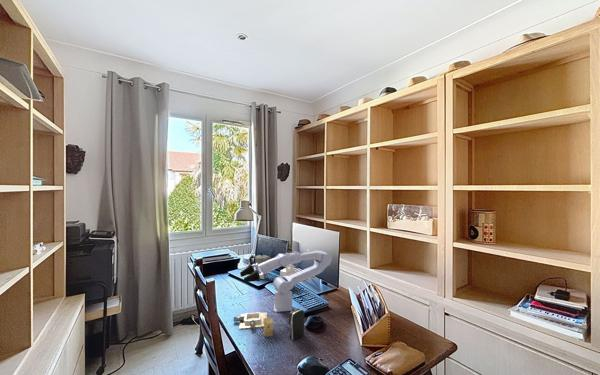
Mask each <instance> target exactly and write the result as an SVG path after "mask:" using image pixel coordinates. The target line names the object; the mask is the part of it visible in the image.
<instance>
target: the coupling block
mask: <svg viewBox="0 0 600 375" xmlns="http://www.w3.org/2000/svg"><path fill="white" fill-rule="evenodd" d="M273 336H274V318H273V317H267V318H264V327H263V337H273Z"/></svg>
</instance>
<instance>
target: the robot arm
mask: <svg viewBox="0 0 600 375" xmlns="http://www.w3.org/2000/svg"><path fill="white" fill-rule="evenodd" d="M304 260H314V261H313V265H311V266H310V267H306V268H304V269H301V270H300V271H298V272H295V273H293V274H292V275H290V276H283V277H280V276H277V277H275V278H274V279H273V282H272V283H273V287H274V304H273V311H274V313H276V312H289V311H290V312H291V311H293V292H292V289H293V288H294V286H296V285H297V284H299V283H301V282H304V281H307V280H308V279H310V278H313V277H315V276H317V275H319V274H321V273H323V271H324V270H326V268H327V267H329V266H330V265H331V263H332V260H333V257H332V255H331V254H330V253H327V252H325V251H324V250H322V249H319V250H316V249H315V250H313V251H307V252H302V253H300V252H299V251H293V252H290V253H288V252H285V253H278V254H276V256H274V257H273V258H272V257H271V258H270V259H269V260H268V261H265V262H263V263H261V264H258V263H256V262H255V263H253V265H252V264H251V263H250V264H248V265H247V267H246V268H244V269H243V270H242V271H240V272H239V275H240V277H242V278H243V277H244V278H243V283H251V282H260V281H261V280H259V278H260V279H262V278H264V274H266V273H267V274H268V273H270V272H272V271H274V270H276V269H279V268H281V267H284V268H286V267H287V266H289V265H291V264H293V265H294V264H300V263H301V262H302V261H304Z"/></svg>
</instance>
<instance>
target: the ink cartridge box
mask: <svg viewBox="0 0 600 375" xmlns="http://www.w3.org/2000/svg"><path fill="white" fill-rule="evenodd" d="M292 274H294V264H289V265H288V266H286V267H284V268H283V269H281V270H280V271H279V277H283V276H290V275H292Z"/></svg>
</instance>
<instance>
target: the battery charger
mask: <svg viewBox="0 0 600 375" xmlns="http://www.w3.org/2000/svg"><path fill="white" fill-rule="evenodd" d="M288 325H289V326H290V335H289V338H290V339H291V340H292V341H295V340H297V339H299V338H300V337H302V336H304V335H305V311H304V310H303V309H301V308H296V309H292V311H290V312H289V313H288Z"/></svg>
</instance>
